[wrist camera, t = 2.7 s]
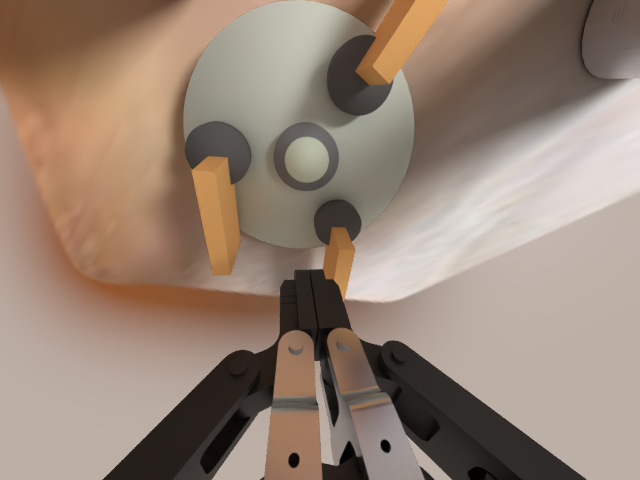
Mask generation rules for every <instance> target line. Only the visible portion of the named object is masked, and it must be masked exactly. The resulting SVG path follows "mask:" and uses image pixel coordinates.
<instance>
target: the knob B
mask: <svg viewBox="0 0 640 480" xmlns="http://www.w3.org/2000/svg"><path fill="white" fill-rule="evenodd" d="M361 225H362V222H361V218H360V216H359V214H358V212H357V210H356V209H355V207H354V206H353V205H352V204H351V203H349V202H347V201H344V200H332V201H329V202H327V203H325V204H323V205H322V206H321V207H320V208H319V209H318V210H317V212H316V214H315V217H314V227H315V231H316V235H317V237H318V238H319V240H320V241H321V242H323V243H324V244H326V250H325V258H324V265H323V270H324V274H325V278H326V279H333V280H334V281H335V282H336V283H337V284H338V285H339V288H340V291H341V296H342V298H343V302H344V299H345V294H346V289H347V285H348V280H349V276H350V271H351V266H352V262H353V257H354V253H355V248H354V246H353V244H352V241H353V240H354V239H355V238H356V237H357V236H358V234H359V232H360V230H361Z"/></svg>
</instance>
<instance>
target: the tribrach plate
mask: <svg viewBox="0 0 640 480" xmlns="http://www.w3.org/2000/svg"><path fill="white" fill-rule="evenodd" d="M374 34H375V32H374V31H373V30H371V29H370V28H369V27H368V26H367V25H366V24H364V23H363V22H361V21H360V20H358V19H357V18H355V17H354V16H353V15H351V14H349V13H346V12H344V11H342V10H340V9H338V8H336V7H333V6H329V5H326V4H322V3H318V2H313V1H301V0H291V1H281V2H274V3H271V4H267V5H264V6H261V7H257V8H255V9H253V10H251V11H249V12H247V13H245V14H243V15H241V16H239V17H238V18H236V19H235V20H234V21H233V22H231V23H230V24H229V25H227V26H226V27H225V28H223V29H222V30H221V31H220V32H219V34H218V35H217V36H216V37H215V38H214V39H213V40H212V41H211V42H210V43H209V45H208V46H207V48H206V49H205V51H204V52H203V54H202V55H201V57H200V59H199V60H198V62H197V65H196V67H195V69H194V71H193V73H192V76H191V78H190V82H189V85H188V89H187V93H186V97H185V104H184V112H183V132H184V139H185V144H186V140H187V137H188V135H189V134H190V132H191V131H192V130H193V129H195V128H196V127H198V126H200V125H202V124H205V123H207V122H212V121H220V122H224V123H227V124H230V125H232V126H233V127H235V128H236V129H238V130H239V131H240V132H241V133H242V134H243V135H244V137H245V138H246V140H247V142H248V144H249V146H250V150H251V163H250V166H249V168H248V170H247V173H246V174H245V176H244V177H243V178H242V179H241V180H240V181H238V182H237V183H235V193H236V203H237V212H238V221H239V229H240V230H241V231H242V232H244V233H246V234H248V235H250V236H252V237H253V238H256V239H258V240H261V241H263V242H265V243H269V244H272V245H276V246H281V247H287V248H300V249H302V248H315V247H322V246H326V244H324V243H323V242H321V241H320V240H319V238H318V237H317V235H316V231H315V227H314V217H315V214H316V212H317V210H318V209H319V208H320V207H321V206H322V205H323V204H325V203H327V202H329V201H332V200H344V201H347V202H349V203H351V204H352V205H353V206H354V207H355V209H356V210H357V212H358V214H359V216H360V218H361V222H362V225H361V230H362V229H364V228H365V227H367V226H368V225H369V224H370V223H371V222H373V221H374V220H375V219H376V218H377V217H378V216H379V215H380V214H381V213H382V212H383V211H384V210H385V208H386V207H387V206H388V205H389V203H390V202H391V201H392V199H393V198H394V196H395V195H396V193H397V191H398V190H399V188H400V186H401V184H402V182H403V180H404V177H405V175H406V172H407V169H408V166H409V163H410V159H411V155H412V151H413V143H414V111H413V103H412V99H411V95H410V91H409V87H408V84H407V82H406V79H405V77H404V74H403V71H402V69H400V70H399V72H398V73H397V74H396V76H395V77H394V81H393V85H392V88H391V91H390V93H389V95H388V97H387V99H386V100H385V102H384V103H383V104H382V105H381V106H380V107H379V108H378V109H377V110H375V111H374V112H372V113H370V114H367V115H362V116H355V115H351V114H348V113H346V112H344V111H342V110H340V109H339V108H338V107H337V106H336V105H335V104H334V103H333V101H332V99H331V97H330V95H329V92H328V87H327V72H328V68H329V64H330V62H331V59H332V57H333V55H334V54H335V52H336V51H337V50H338V49H339V48H340V47H341V46H342V45H343V44H344V43H346V42H347V41H348V40H350V39H351V38H353V37H356V36H359V35H372V36H373V35H374ZM192 170H193V169H192ZM361 230H360V231H361Z"/></svg>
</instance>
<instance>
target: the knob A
mask: <svg viewBox="0 0 640 480" xmlns="http://www.w3.org/2000/svg"><path fill="white" fill-rule="evenodd" d="M185 153H186V157H187V160H188V163H189V164H190V166H191V168H192V169H193V170H192V176H193V181H194V185H195V190H196V195H197V200H198V205H199V210H200V214H201V219H202V224H203V229H204V234H205V239H206V243H207V248H208V253H209V258H210V263H211V267H212V272H213V275H231V271H232V268H233V265H234V262H235V258H236V255H237V252H238V248H239V245H240V242H241V239H240V230H239V221H238V212H237V203H236V193H235V183H237V182H238V181H240V180H241V179H242V178H243V177H244V176H245V174H246V173H247V170H248V168H249V166H250V163H251V150H250V146H249V144H248V142H247V140H246V138H245V137H244V135H243V134H242V133H241V132H240V131H239V130H238V129H236V128H235V127H233V126H232V125H230V124H227V123H224V122H220V121H212V122H207V123H205V124H202V125H200V126H198V127H196V128H195V129H193V130H192V131H191V132H190V134H189V135H188V137H187V140H186V144H185Z"/></svg>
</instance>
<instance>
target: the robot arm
mask: <svg viewBox="0 0 640 480" xmlns="http://www.w3.org/2000/svg"><path fill="white" fill-rule="evenodd" d="M582 57H583V60H584V64H585V67H586V68H587V69H588V71H589V72H590V73H591V74H592V75H594V76H596V77H597V78H602V79H629V78H640V0H594V2H593V4H592V6H591V9H590V12H589V15H588V18H587V21H586V24H585V28H584V33H583V39H582ZM314 361H320V366H321V373H320V381H321V386H322V391H323V396H324V401H325V406H326V410H327V416H328V420H329V425H330V433H331V448H332V455H333V460H334V465H329V464H324V463H322V462H321V443H320V426H319V425H320V423H319V408H318V403H317V401H316V388H315V365H314ZM270 406H272V407H271V416H270V425H269V435H268V445H267V455H266V465H265V476H264V477H263V478H261V479H260V480H434V479H433V478H432V477H431V476H430V475H429V474H428V473H427V472H426V471H425V470H424V469H423V468H422V467H420V466H419V465H418V462H417V460H416V458H415V455H414V453H413V450H412V448H411V445H410V443H409V441H408V438H407V436H408V437H409V438H410V439H411V440H412V441H413V442H414V443H415V444H416V445H417V446H418V447H419V448H420V449H421V450H422V451H423V452H425V454H427V455H428V456H429V457H430V458H431V459H432V460H433V461H434V462H435V463H436V464H437V465H438V466H439V467H440V468H441V469H442V470H443V471H444V472H445V473H446V474H447V475H448V476H449V477H450V478H451V479H452V480H586V479H585V478H584V477H582V476H581V475H580V474H578V473H577V472H576V471H574V470H573V469H571V468H570V467H569V466H568V465H566V464H565V463H564V462H562V461H561V460H560V459H558V458H557V457H556V456H554V455H553V454H552V453H550V452H549V451H547V450H546V449H545V448H543V447H542V446H541V445H539V444H538V443H537V442H535V441H534V440H533V439H531V438H530V437H529V436H527V435H526V434H525V433H523V432H522V431H521V430H519V429H518V428H517V427H515V426H514V425H513V424H511V423H510V422H509V421H507V420H506V419H505V418H503V417H502V416H501V415H499V414H498V413H496V412H495V411H494V410H492V409H491V408H490V407H488V406H487V405H486V404H484V403H483V402H482V401H480V400H479V399H478V398H476V397H475V396H474V395H472V394H471V393H470V392H468V391H467V390H465V389H464V388H463V387H462V386H460V385H459V384H458V383H456V382H455V381H453V380H452V379H451V378H449V377H448V376H447V375H445V374H444V373H443V372H441V371H440V370H439V369H437V368H436V367H435V366H433V365H432V364H431V363H429V362H428V361H427V360H425V359H424V358H423V357H421V356H419V354H417V353H416V352H415V351H413V350H412V349H411V348H409V347H408V346H406V345H405V344H403V343H401V342H399V341H388V342H386V343H385V344H384V345H383V346H379V345H375V344H371V343H368V342H365V341H363V340H361V339H360V338H358V336H357V335H356V334H355V333H354V332H353V330H352V329H351V326H350V322H349V319H348V315H347V312H346V308H345V305H344V302H343V298H342V296H341V291H340V288H339V285H338V284H337V283H336V282H335V281H334V280H333V279H326V278H325V274H324V270H323V269H318V270H295V271H294V280H284V282H283V284H282V285H281V287H280V335H279V337H278V339H277V341H276V342H275V344H274V345H273V346H271V347H270V348H268V349H266V350H264V351H262V352H259V353H256V354H254V353H252V352H250V351H247V350H239V351H235V352H233V353H231V354H229V355H228V356H227V357H225V358H224V359H223V360H222V361H221V362H220V363H219V364H218V365H217V366H216V367H215V368H214V369H213V370H212V371H211V372H210V373H209V374H208V375H207V376H206V377H205V378H204V379H203V380H202V381H201V382H200V383H199V384H198V385H197V386H196V387H195V388H194V389H193V390H192V391H191V392H190V393H189V394H188V395H187V396H186V397H185V398H184V399H183V400H182V401H181V402H180V403H179V404H178V405H177V406H176V407H175V408H174V409H173V410H172V411H171V412H170V413H169V414H168V415H167V416H166V417H165V418H164V419H163V420H162V421H161V422H160V423H159V424H158V425H157V426H156V427H155V428H154V429H153V430H152V431H151V432H150V433H149V434H148V435H147V436H146V437H145V438H144V439H143V440H142V441H141V442H140V443H139V444H138V445H137V446H136V447H135V448H134V449H133V450H132V451H131V452H130V453H129V454H128V455H127V456H126V457H125V458H124V459H123V460H122V461H121V462H120V463H119V464H118V465H117V466H116V467H115V468H114V469H113V470H112V471H111V472H110V473H109V474H108V475H107V476H106V477H105V478H104V479H103V480H212V478H213V477H214V476H215V474H216V473H217V471H218V470H219V468H220V467H221V466H222V464H223V463H224V461H225V460H226V458H227V457H228V455H229V454H230V452H231V451H232V450H233V449H234V447H235V446H236V444H237V443H238V441H239V440H240V439H241V437H242V436H243V434H244V433H245V431H246V430H247V428H248V427H249V426H250V424H251V423H252V421H253V420H254V419H255V417H256V416H257V414H258V413H259V412H260V411H262V410H264V409H266V408H268V407H270ZM406 435H407V436H406Z"/></svg>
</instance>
